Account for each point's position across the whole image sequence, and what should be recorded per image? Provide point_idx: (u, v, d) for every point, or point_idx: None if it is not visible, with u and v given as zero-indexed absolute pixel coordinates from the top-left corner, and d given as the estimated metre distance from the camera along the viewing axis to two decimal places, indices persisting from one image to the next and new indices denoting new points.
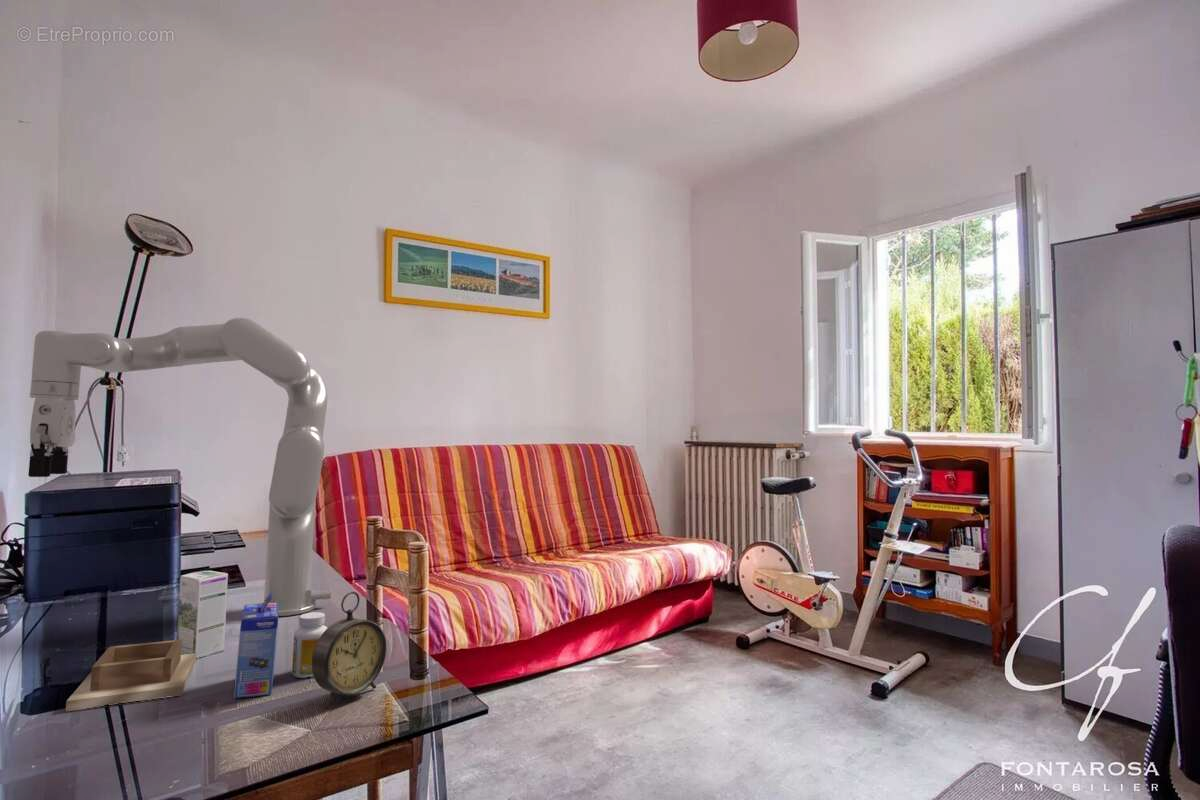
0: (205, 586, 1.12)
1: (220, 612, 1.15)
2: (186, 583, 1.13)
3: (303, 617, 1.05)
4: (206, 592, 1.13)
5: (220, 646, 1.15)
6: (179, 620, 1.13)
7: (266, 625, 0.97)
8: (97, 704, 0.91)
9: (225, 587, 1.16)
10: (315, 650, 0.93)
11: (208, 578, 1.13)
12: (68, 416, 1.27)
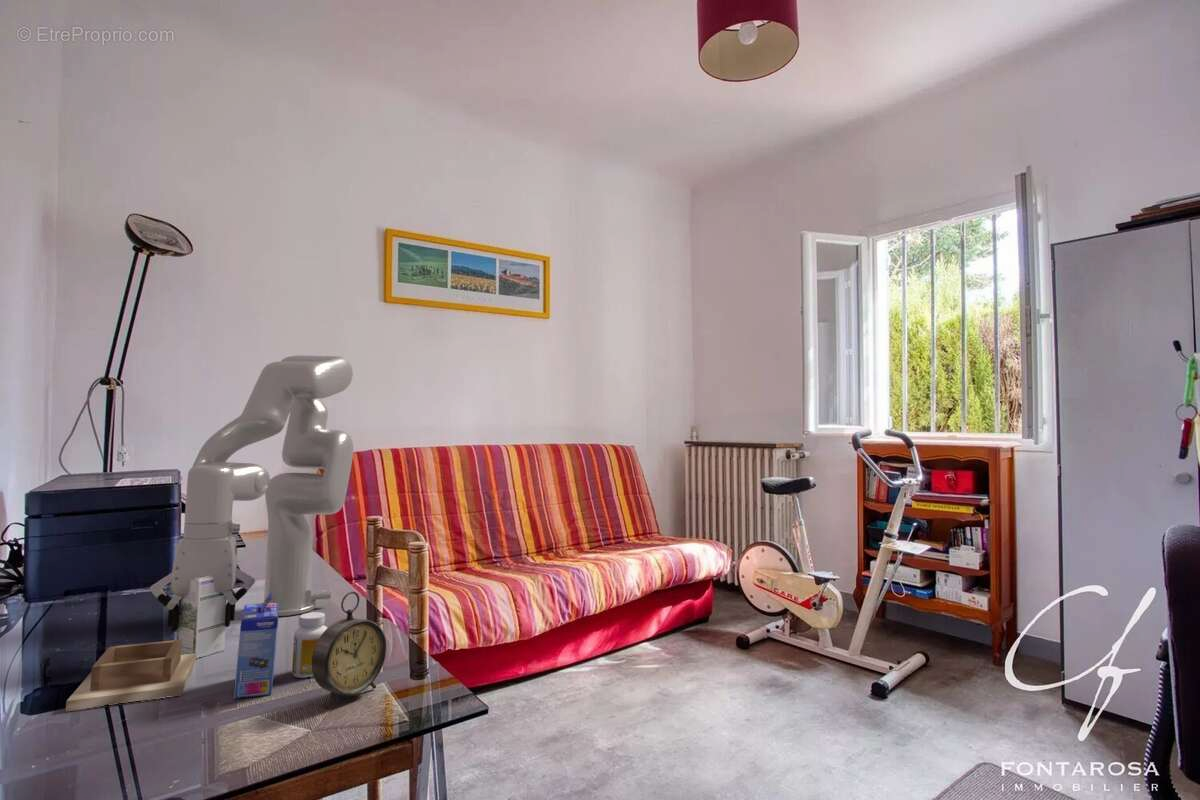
0: (205, 586, 1.12)
1: (220, 612, 1.15)
2: None
3: (303, 617, 1.05)
4: (206, 592, 1.13)
5: (220, 646, 1.15)
6: (179, 620, 1.13)
7: (265, 625, 0.97)
8: (97, 704, 0.91)
9: None
10: (315, 650, 0.93)
11: (208, 578, 1.13)
12: None
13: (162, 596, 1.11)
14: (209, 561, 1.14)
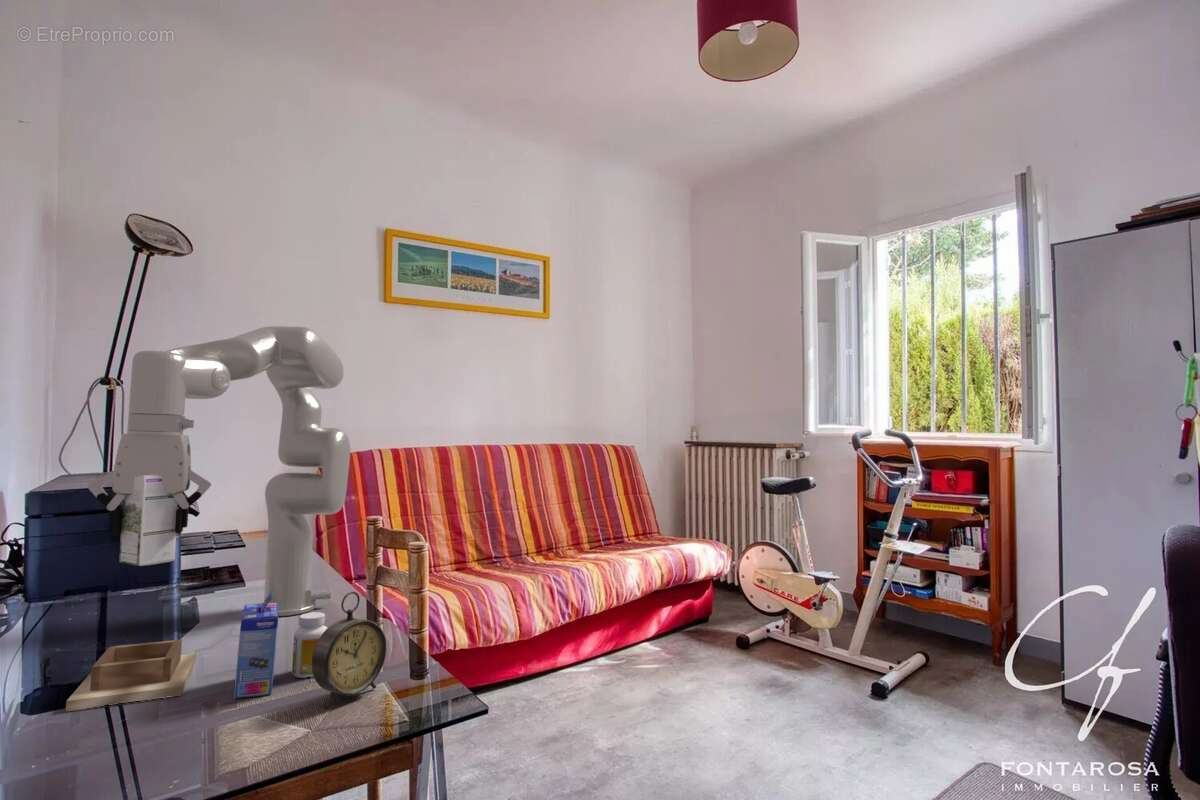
0: (151, 484, 0.99)
1: (170, 516, 1.02)
2: None
3: (303, 617, 1.05)
4: (153, 491, 0.99)
5: (169, 555, 1.02)
6: (122, 524, 1.00)
7: (265, 625, 0.97)
8: (97, 704, 0.91)
9: None
10: (315, 650, 0.93)
11: (155, 476, 1.00)
12: None
13: (102, 495, 0.98)
14: (157, 458, 1.00)
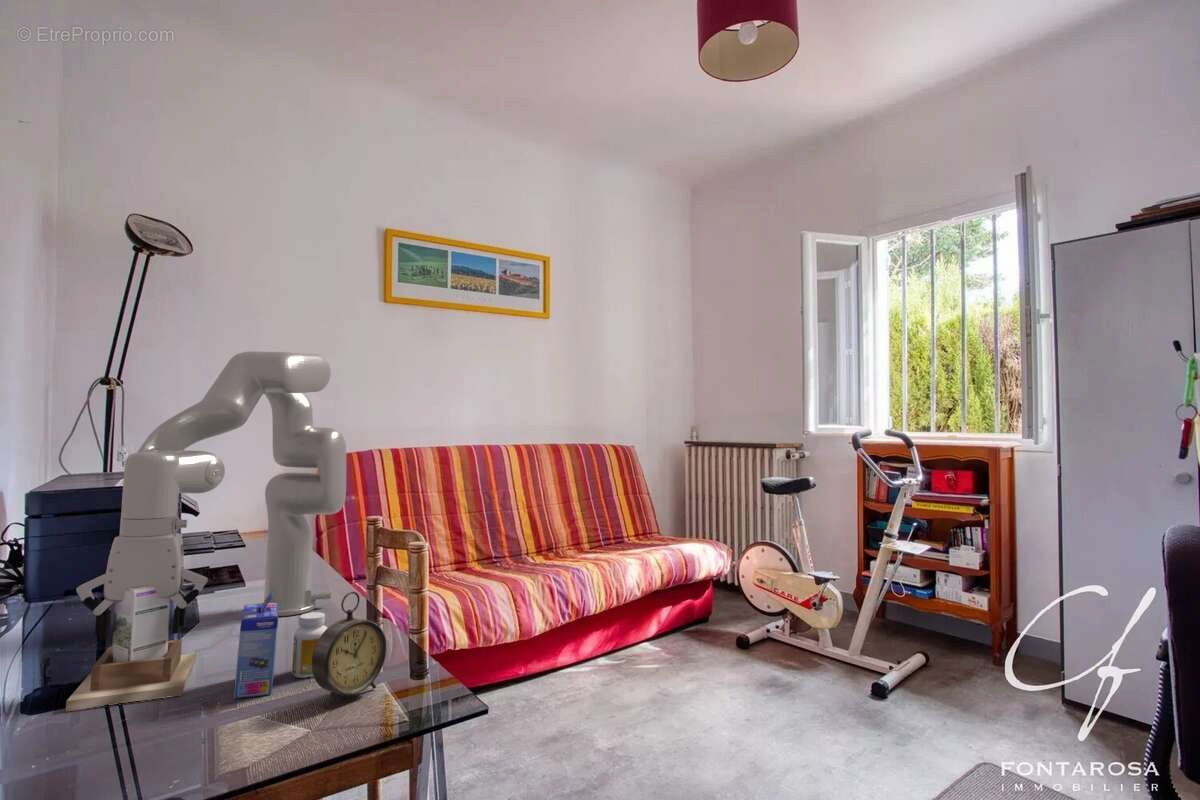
0: (142, 598, 0.98)
1: (161, 628, 1.00)
2: None
3: (303, 617, 1.05)
4: (143, 605, 0.98)
5: None
6: (114, 637, 0.99)
7: (266, 625, 0.97)
8: (97, 704, 0.91)
9: (168, 599, 1.01)
10: (315, 650, 0.93)
11: (146, 589, 0.98)
12: None
13: (89, 599, 0.97)
14: (149, 562, 0.99)
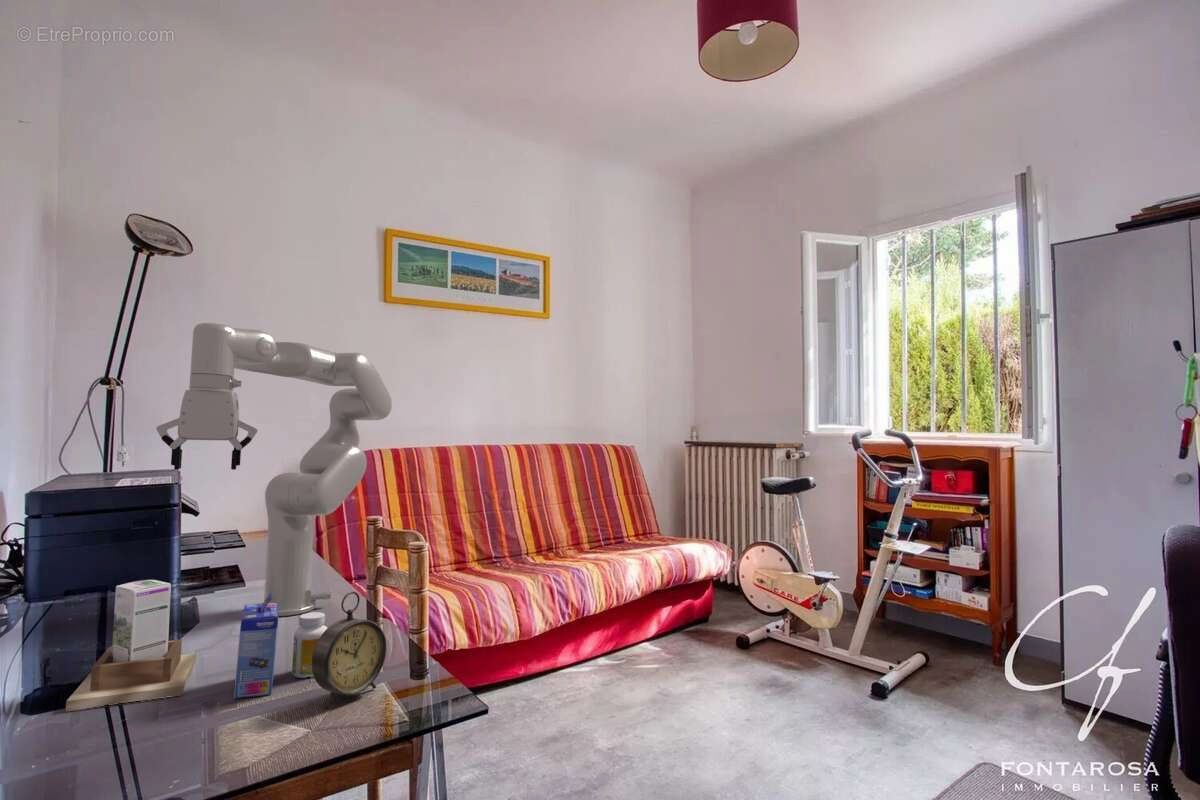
0: (142, 598, 0.98)
1: (161, 628, 1.00)
2: (121, 595, 0.98)
3: (303, 617, 1.05)
4: (143, 605, 0.98)
5: None
6: (114, 637, 0.99)
7: (266, 625, 0.97)
8: (97, 704, 0.91)
9: (168, 599, 1.01)
10: (315, 650, 0.93)
11: (146, 589, 0.98)
12: None
13: (166, 436, 1.21)
14: (213, 410, 1.24)
